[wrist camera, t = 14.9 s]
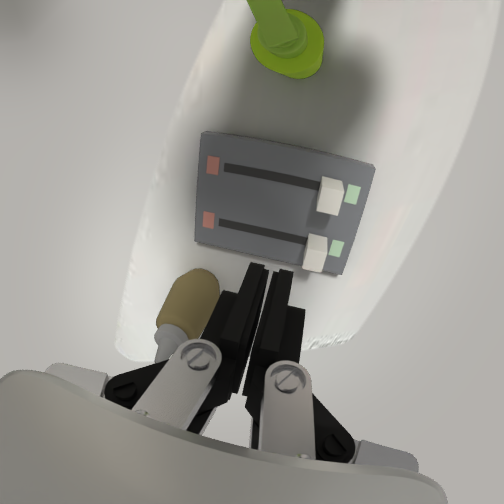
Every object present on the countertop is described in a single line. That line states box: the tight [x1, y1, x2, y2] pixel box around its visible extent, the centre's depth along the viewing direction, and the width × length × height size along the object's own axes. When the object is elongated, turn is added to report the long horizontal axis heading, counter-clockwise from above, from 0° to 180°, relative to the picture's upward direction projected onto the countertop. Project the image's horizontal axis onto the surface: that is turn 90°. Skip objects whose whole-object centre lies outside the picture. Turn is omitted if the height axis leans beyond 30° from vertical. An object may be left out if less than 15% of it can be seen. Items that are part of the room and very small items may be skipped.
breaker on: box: [316, 176, 344, 216], centre depth 34 cm, size 3×2×4 cm
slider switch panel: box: [194, 131, 375, 275], centre depth 40 cm, size 16×22×2 cm
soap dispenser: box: [247, 0, 324, 79], centre depth 22 cm, size 6×7×20 cm
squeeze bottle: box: [154, 269, 219, 363], centre depth 43 cm, size 8×8×18 cm
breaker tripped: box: [302, 233, 327, 273], centre depth 38 cm, size 3×2×4 cm
